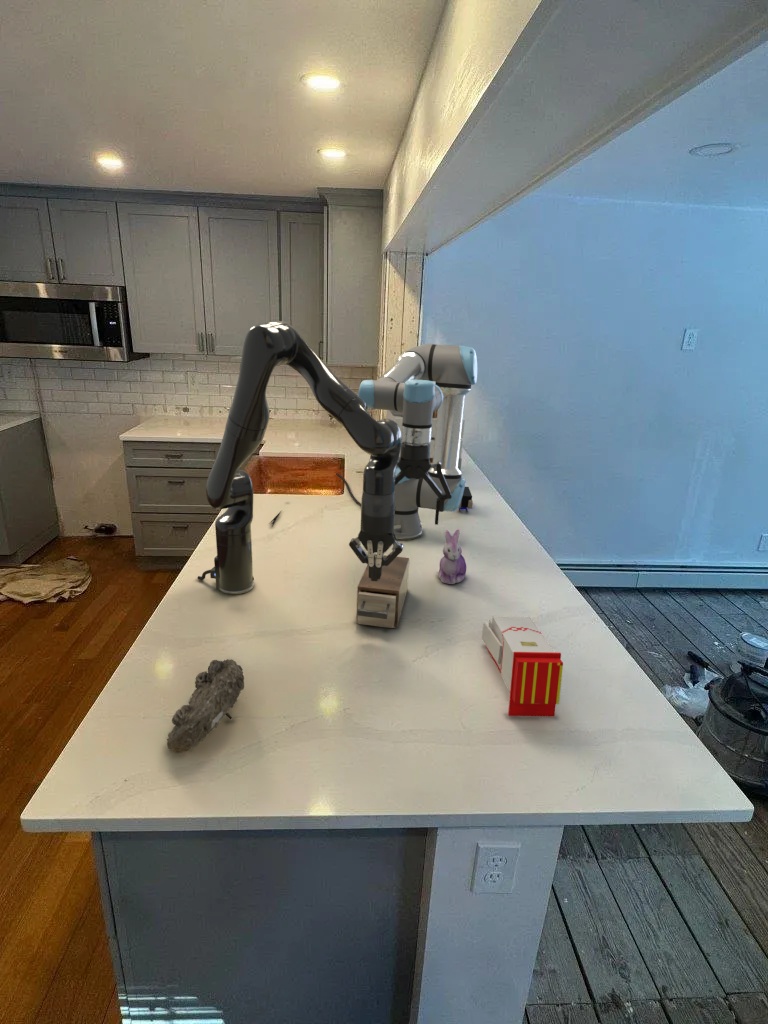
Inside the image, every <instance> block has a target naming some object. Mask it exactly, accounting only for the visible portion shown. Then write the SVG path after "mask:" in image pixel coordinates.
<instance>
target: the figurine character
mask: <svg viewBox="0 0 768 1024" xmlns="http://www.w3.org/2000/svg"><path fill="white" fill-rule="evenodd" d="M473 502H474V501H473V495H472V492H471V489H470V486H465V488H464V492H463V496H462V500H461V503H460V505H459V508H458V512H459V513H462V511H465V512H466V513H469V510H468V509H470V510H471V509H473V507H474V503H473Z"/></svg>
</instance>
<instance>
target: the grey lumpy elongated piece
mask: <svg viewBox="0 0 768 1024" xmlns="http://www.w3.org/2000/svg"><path fill="white" fill-rule="evenodd" d="M243 670H244V669H243V667H242V665H240V664H237V662H236V661H235V660H234V659H232V658H231V659H227V658H226V659H224V660H223V661H222V660H217V659H212V660H211V661H210V663H209V665H208V666H207V671H201V672H199V673H198V674H197V675H196V676H195V680H194V684H195V685H194V687H195V689H194V690H193V693H192V694H191V697H190V698H189V700H188V704H184V705H182V706H181V707H180V709H177V710H176V711H175V713H174V715H173V716H172V718H171V723H172V724H173V727H172V730H171V731H170V732H168V734H167V738H166V741H167V742H166V745H167V749H168V750H169V751H173V752H174V753H176V754H178V753H182V752H188V751H189V752H192V751H193V750H195V748H196V747H197V746H199V744H200V743H201V742H203V741H204V740H205V739H206V738H207V737H208V736H209V735H210V734H211V733H212V732H214V730H215V729H217V727H218V726H219V724H220V722H221V721H222V720H223V719H224V718H225V716H226V717H227V719H229V720H233V717H232V715H230V714H229V710H230V709H231V708H234V706H235V704H236V703H237V702H238V699H239V697H240V695H241V693H242V691H243V690H245V689H244V688H245V675H244V671H243Z"/></svg>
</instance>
